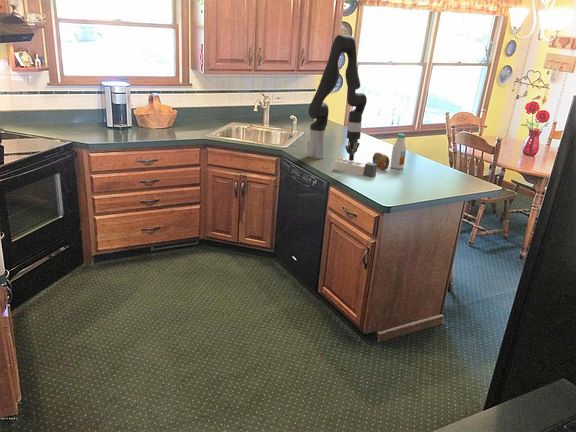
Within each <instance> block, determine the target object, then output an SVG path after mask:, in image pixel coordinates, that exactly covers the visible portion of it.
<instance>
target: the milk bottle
mask: <svg viewBox="0 0 576 432" xmlns="http://www.w3.org/2000/svg"><path fill="white" fill-rule="evenodd" d="M396 135H397V136H396V138H397V139H396V141H395V142H394V144H393V147H392V152H391V159H390V164H389V166H390V169H391V168H392V169H395V170H402V169H404V167H405V159H406V152H407V145H406V143H405V139H406V134H405V133H397V134H396Z"/></svg>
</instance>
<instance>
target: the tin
mask: <svg viewBox="0 0 576 432" xmlns="http://www.w3.org/2000/svg"><path fill="white" fill-rule="evenodd" d="M372 163H375V164H377V169H378V170H382V171H384V170H385V171H386V170H388V168H389V166H390V158H389V156H388V155H386V154H384V153H382V152H375V153H374V154H373V155H372Z"/></svg>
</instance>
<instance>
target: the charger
mask: <svg viewBox="0 0 576 432" xmlns="http://www.w3.org/2000/svg"><path fill="white" fill-rule="evenodd" d="M364 164H365V172H364V175H363V176H365V177H370V178H373V177H375V176H377V169H378V168H377V164H375V163H373V162H367V163H364Z"/></svg>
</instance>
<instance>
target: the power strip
mask: <svg viewBox="0 0 576 432" xmlns="http://www.w3.org/2000/svg"><path fill="white" fill-rule="evenodd" d="M365 164H366V163H363V162H358V161H354V160H353V161H350V160H349V159H346V158H341V157H340V158H337V159H336V160H335V161H334V170H335V171H340V172H345V173H349V174H354V175H358V176H362V177H363V176H365V175H364V172H365Z"/></svg>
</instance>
